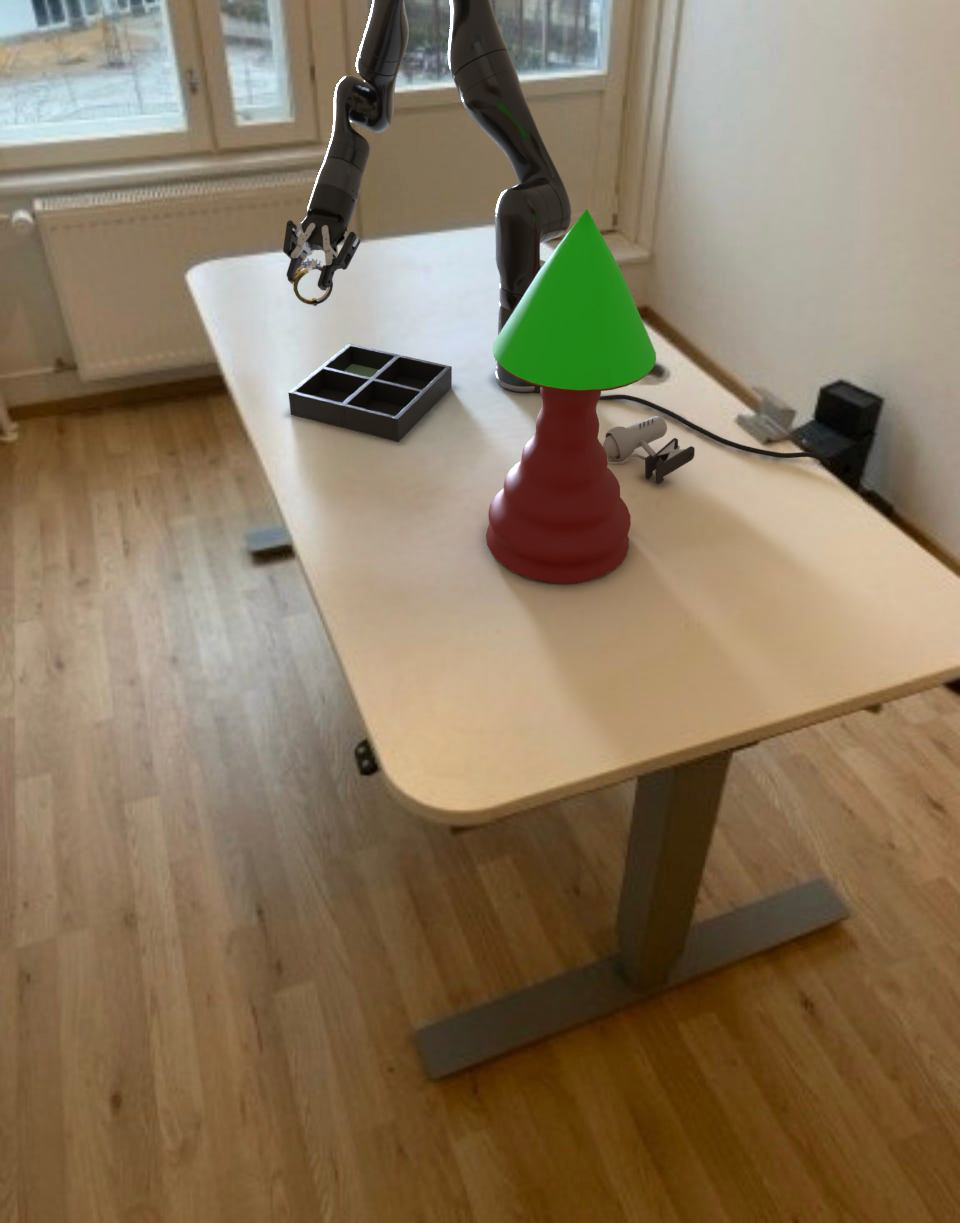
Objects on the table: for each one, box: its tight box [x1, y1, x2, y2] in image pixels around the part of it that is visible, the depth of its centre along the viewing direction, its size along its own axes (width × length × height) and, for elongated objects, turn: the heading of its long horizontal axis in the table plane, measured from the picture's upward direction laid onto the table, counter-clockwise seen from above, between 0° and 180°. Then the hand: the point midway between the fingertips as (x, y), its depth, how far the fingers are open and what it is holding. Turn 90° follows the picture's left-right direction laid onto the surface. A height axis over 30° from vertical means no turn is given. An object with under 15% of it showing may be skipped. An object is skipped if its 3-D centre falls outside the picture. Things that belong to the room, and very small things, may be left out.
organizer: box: [287, 343, 453, 443], centre depth 162 cm, size 20×20×4 cm
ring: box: [292, 258, 334, 307], centre depth 169 cm, size 7×3×8 cm, turn 106°
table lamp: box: [485, 208, 657, 584], centre depth 120 cm, size 20×20×45 cm
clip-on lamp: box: [602, 415, 696, 485], centre depth 147 cm, size 12×6×18 cm
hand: (306, 285), depth 167 cm, fingers closed on ring, 5 cm apart
